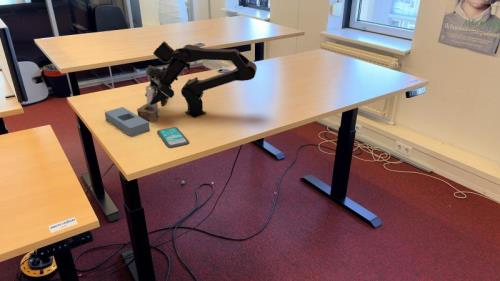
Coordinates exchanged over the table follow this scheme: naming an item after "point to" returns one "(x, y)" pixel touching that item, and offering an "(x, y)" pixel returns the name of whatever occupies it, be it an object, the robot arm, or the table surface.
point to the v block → (146, 113)
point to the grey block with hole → (127, 121)
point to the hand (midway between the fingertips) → (148, 100)
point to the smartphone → (172, 137)
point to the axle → (150, 94)
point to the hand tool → (164, 101)
